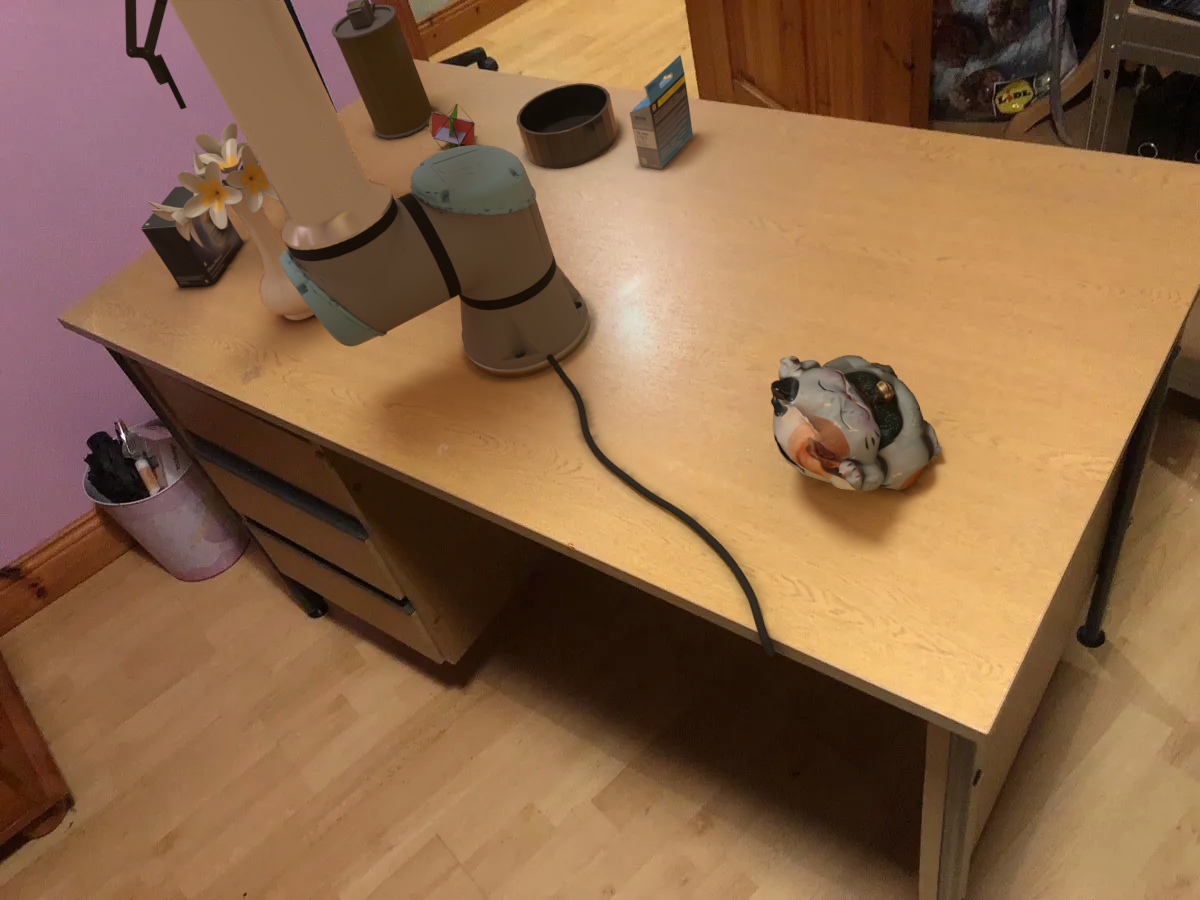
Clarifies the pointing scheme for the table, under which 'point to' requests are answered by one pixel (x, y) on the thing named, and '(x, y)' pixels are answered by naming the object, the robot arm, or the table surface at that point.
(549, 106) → the round brown bowl
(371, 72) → the canister
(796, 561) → the table surface
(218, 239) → the small box
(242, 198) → the flower vase
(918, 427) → the lucky cat figurine
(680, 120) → the label tape box
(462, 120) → the geometric puzzle
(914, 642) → the table surface
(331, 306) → the robot arm
